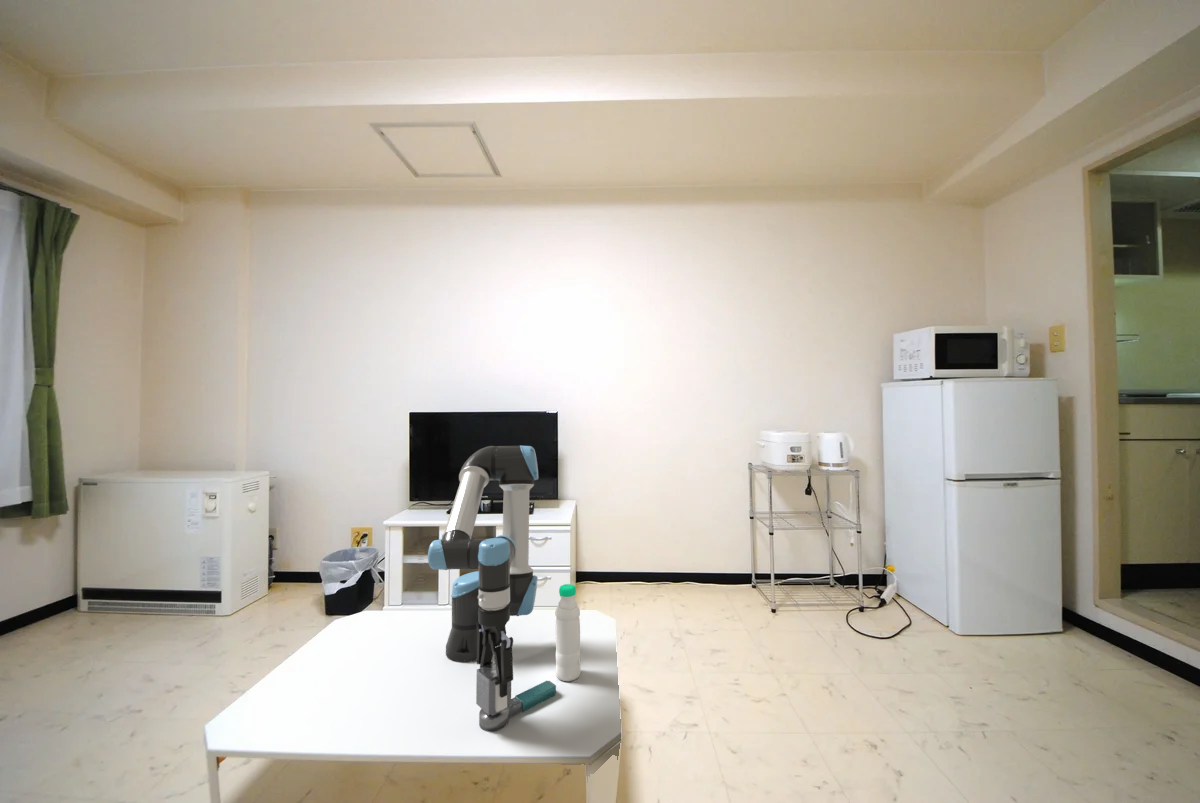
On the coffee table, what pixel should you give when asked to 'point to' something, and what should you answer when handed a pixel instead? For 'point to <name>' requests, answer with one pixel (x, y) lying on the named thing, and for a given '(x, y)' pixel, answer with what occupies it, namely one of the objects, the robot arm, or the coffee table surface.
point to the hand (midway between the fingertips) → (494, 702)
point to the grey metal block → (488, 688)
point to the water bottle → (567, 635)
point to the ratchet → (517, 706)
